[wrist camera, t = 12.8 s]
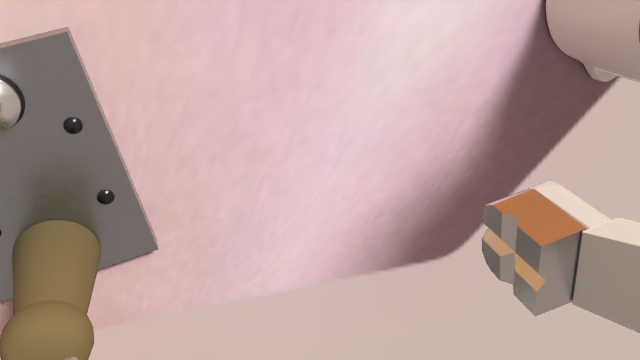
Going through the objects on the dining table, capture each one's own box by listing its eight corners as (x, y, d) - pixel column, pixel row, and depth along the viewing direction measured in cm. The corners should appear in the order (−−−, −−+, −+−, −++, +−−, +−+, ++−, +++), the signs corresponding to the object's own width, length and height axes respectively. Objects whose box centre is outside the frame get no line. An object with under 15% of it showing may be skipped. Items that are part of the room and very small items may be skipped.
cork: (97, 286, 43) (95, 396, 34) (10, 285, 41) (-16, 404, 32) (105, 222, 41) (106, 322, 32) (13, 217, 38) (-13, 325, 29)
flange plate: (67, 27, 35) (67, 32, 34) (156, 240, 45) (158, 249, 44) (-138, 77, 32) (-146, 84, 31) (4, 292, 42) (1, 302, 41)
